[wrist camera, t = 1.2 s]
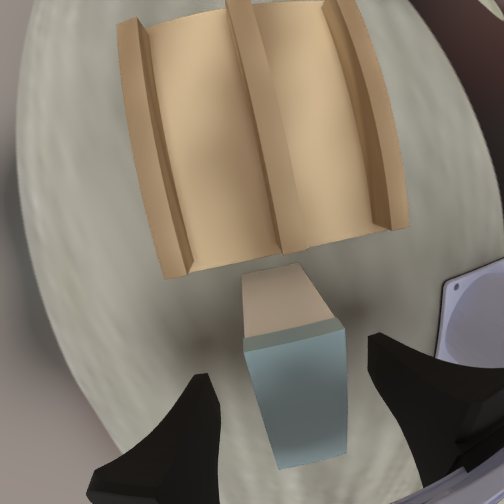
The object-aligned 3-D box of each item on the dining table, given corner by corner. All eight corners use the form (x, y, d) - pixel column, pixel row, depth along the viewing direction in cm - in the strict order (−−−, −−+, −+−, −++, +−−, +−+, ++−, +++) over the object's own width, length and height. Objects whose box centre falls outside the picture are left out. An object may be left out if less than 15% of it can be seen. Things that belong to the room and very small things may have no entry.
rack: (338, 10, 11) (356, -16, 8) (389, 224, 15) (418, 235, 12) (126, 44, 11) (106, 21, 8) (172, 270, 15) (157, 293, 12)
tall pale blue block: (298, 261, 15) (345, 328, 8) (313, 366, 17) (346, 453, 10) (240, 274, 15) (243, 352, 8) (265, 377, 17) (278, 469, 10)
